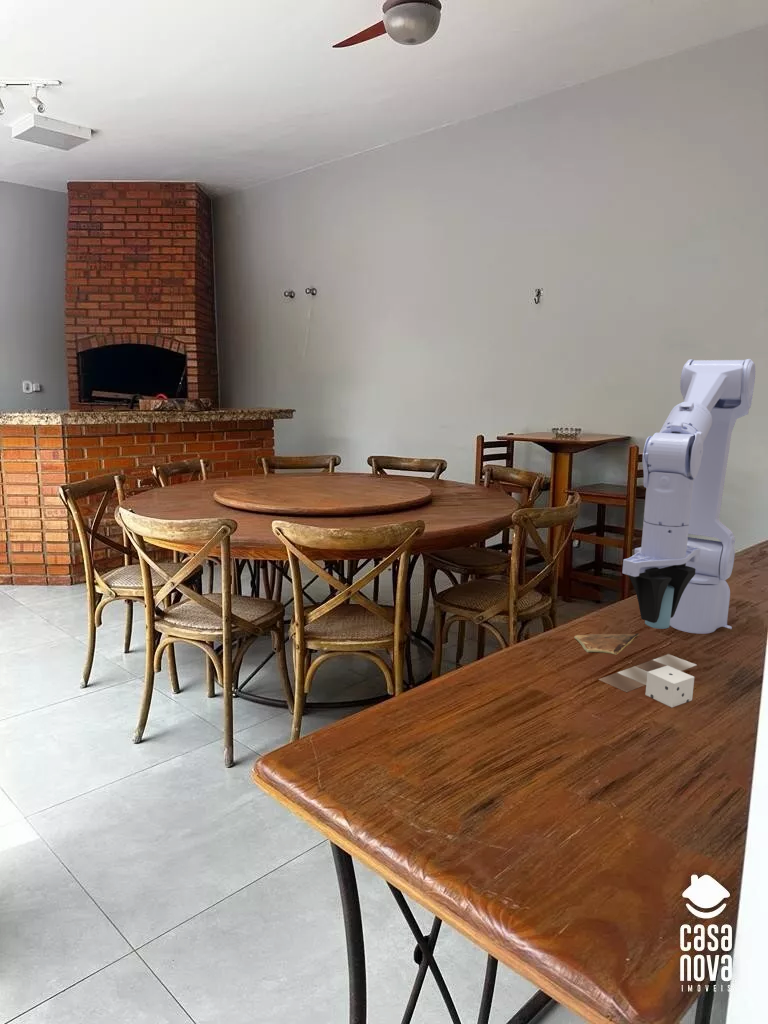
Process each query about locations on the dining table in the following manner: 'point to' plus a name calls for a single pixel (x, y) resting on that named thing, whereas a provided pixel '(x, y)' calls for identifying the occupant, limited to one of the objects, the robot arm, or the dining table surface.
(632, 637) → the shard
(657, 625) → the blue capsule cylinder
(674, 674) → the die
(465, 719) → the dining table surface
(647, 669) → the board
